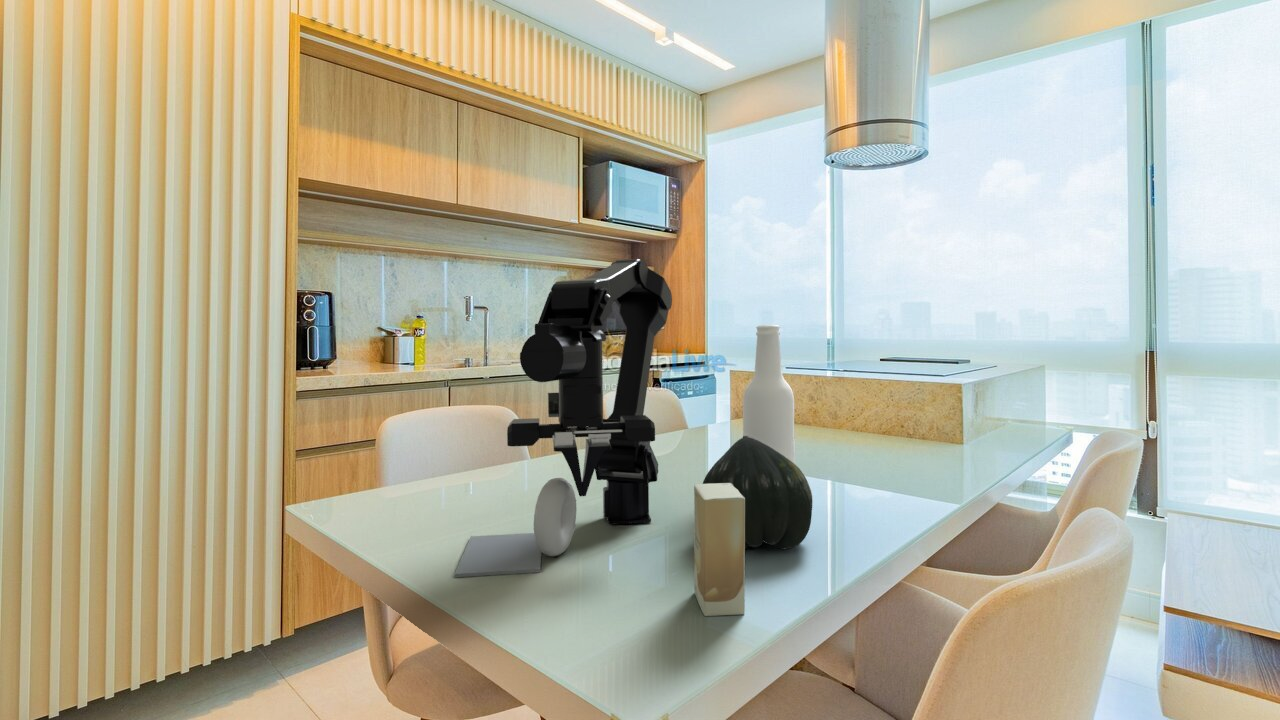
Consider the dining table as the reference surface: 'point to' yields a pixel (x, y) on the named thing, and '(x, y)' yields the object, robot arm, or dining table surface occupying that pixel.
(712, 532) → the skincare box
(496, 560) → the mat
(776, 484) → the squash
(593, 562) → the dining table surface
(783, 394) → the alcohol
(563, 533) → the donut
